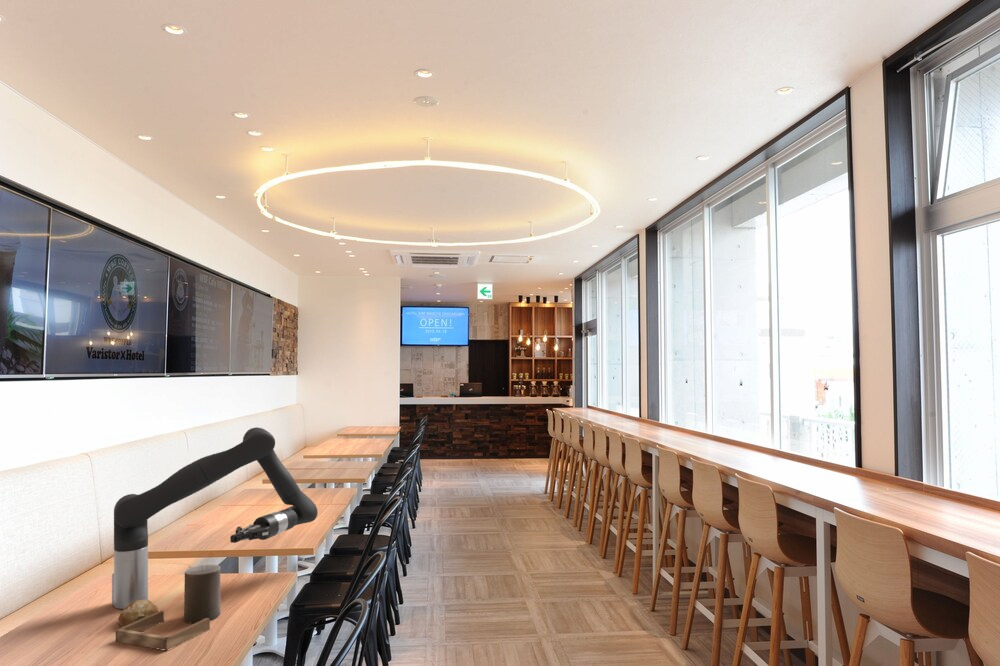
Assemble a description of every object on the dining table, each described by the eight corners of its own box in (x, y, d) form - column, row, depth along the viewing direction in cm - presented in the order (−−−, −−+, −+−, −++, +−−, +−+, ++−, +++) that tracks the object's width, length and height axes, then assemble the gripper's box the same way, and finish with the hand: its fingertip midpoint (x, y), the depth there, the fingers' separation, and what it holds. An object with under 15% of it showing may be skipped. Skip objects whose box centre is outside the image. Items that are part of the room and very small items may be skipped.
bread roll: (126, 644, 181) (133, 620, 179) (108, 621, 186) (115, 598, 185) (161, 631, 189) (167, 608, 188) (143, 610, 194) (149, 587, 193)
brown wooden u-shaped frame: (115, 641, 174) (115, 630, 174) (160, 621, 187) (160, 610, 187) (166, 651, 167) (166, 639, 168) (209, 629, 181) (209, 618, 181)
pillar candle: (201, 625, 184) (202, 571, 184) (176, 620, 187) (176, 567, 188) (228, 613, 193) (228, 561, 193) (203, 608, 196) (203, 558, 197)
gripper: (254, 512, 220) (215, 525, 204) (286, 515, 216) (248, 528, 199) (255, 535, 220) (215, 550, 204) (287, 537, 215) (249, 553, 199)
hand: (232, 539), depth 202 cm, fingers closed
